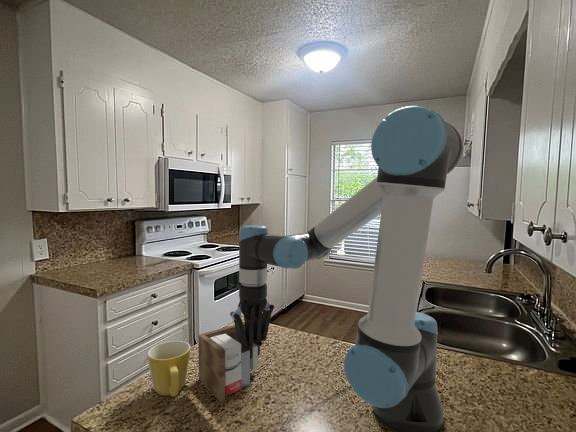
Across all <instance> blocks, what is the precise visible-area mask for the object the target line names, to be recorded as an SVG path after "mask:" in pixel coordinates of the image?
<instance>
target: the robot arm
mask: <svg viewBox="0 0 576 432" xmlns="http://www.w3.org/2000/svg"><path fill="white" fill-rule="evenodd" d="M370 146H371V147H370V151H371V156H372V158H373V160H374V162H375V164H376V165H377V167H378V169H377V176H376V177H375V178H374V179H372V180H371V181H370V182H369V183H367V184H366V185H365V186H364V187H363V188H360V189H359V191H357V192H356V193H355V194H354V195H352V196H351V197H350V198H348V199H347V200H346V201H344V203H342V204H341V205H340V206H338V207H337V208H336V209H335V210H333V211H331V212H330V213H329V214H328V215H327V216H326V217H325V218H323V219H322V220H321V221H319V222H318V223H317V224H316V225H315V226H313V227H312V228H310V229H309V230H308V231H306V232H304V233H296V234H288V235H276V234H275V235H272V234H269V232H268V227H267V226H266V225H258V224H256V225H255V224H253V225H249V224H248V225H243V226H241V227H240V229H239V236H238V250H239V251H238V253H239V254H238V257H239V259H238V270H239V271H238V272H239V273H238V275H239V277H238V280H239V281H238V282H239V284H238V298H239V303H238V304H237V308H236V310H234V311H230V313H229V315H230V317H231V319H232V320H233V323H234V324H233V325H235V328H236V332H237V337H238V341H239V343H240V344H241V345H243V346H244V347H246V348H247V349H249V350H250V371H253V372H255V371H257V370H258V369H259V368H258V367H259V366H258V365H259V364H258V361H259V356H260V355H261V346H263V344H264V343H263V341H266V340H267V337H268V334H269V333H268V332H269V327H270V321H271V317H272V313H273V311H274V309H275V305H274V304H272V303H270V302H268V300H267V296H268V283H267V282H268V265H269V266H274V267H279V268H283V269H292V270H293V269H294V270H296V269H301V267H302V266H303V265H304V264H305V263H306V262H309V261H314V260H319V259H322V258H325V257H327V256H328V255H330V253H331V251H332V249H333V248H334V247H335V246H337V245H338V244H340V243H341V242H343V241H344V240H346V239H347V238H349V236H351V235H353V234H354V233H356V232H357V231H358V230H360V229H361V228H362V227H364V226H366V225H367V224H368V223H370V222H371V221H373V220H374V219H375V218H378V216H379V215H380V220H379V225H378V227H379V229H378V234H377V242H376V248H375V249H376V250H375V258H374V265H373V272H372V279H371V287H370V295H369V303H368V310H367V314H365V315H364V316H363V317H361V318H359V320H358V324H357V331H356V340H355V345H353V346H351V347H350V348H349V349H348V351H347V353H346V355H345V357H344V361H343V369H344V374H345V378H346V380H347V382H348V384H349V385H350V386H351V387H352V390H353V391H354V393H355V394H356V395H358V397H359V398H360V399H362V400H363V401H364V402H366V404H367V403H368V404H370V405H371V406H372V409H373V412H374V413H375V415H376V417H378V418H379V420H380V421H382V422H383V423H384V424H385V425H387V426H388V427H390V428H392V429H394V430H397V431H399V432H438V431H439V430H440V429H441V428H442V427H443V423H444V408H443V405H442V402H441V399H440V395H439V392H438V389H437V388H438V387H437V385H436V380H437V379H436V374H437V350H438V349H437V347H438V335H439V332H438V323H437V320H435V318H434V317H432V316H430V315H428V314H426V313H423V312H419V311H417V310H418V306H419V305H418V303H419V299H420V298H419V297H420V290H421V283H422V277H423V270H424V263H425V258H426V257H425V256H426V251H427V243H428V237H429V231H430V226H431V225H430V223H431V218H432V211H433V203H434V199H435V198H436V197H437V196H439V195H440V194H441V193H443V192H444V191H445V188H446V182H447V177H448V176H447V175H448V174H450V173H451V172H452V171H453V170H454V169H455V168H456V167H457V166H458V164H459V162H460V160H461V158H462V156H463V151H464V150H463V148H464V147H463V140H462V136H461V134H460V133H459V131H458V130H457V129H456V127H455V126H453V125H452V124H451V123H449V122H448V121H445V120H444V118H443V117H442V116H441V115H440V114H439V113H438V112H437V111H435V110H433V109H428V108H427V107H424V106H419V105H410V106H409V105H408V106H403V107H401V108H398V109H395V110H394V111H391V112H390V113H389V114H388V115H387V116H386V117H384V118H383V119H382V120H381V121H380V122H379V124H378V125H377V127H376V129H375V130H374V133H373V135H372V139H371V144H370ZM242 318H243V320H244V322H245V331H244V326H243V320H242ZM253 342H254V343H253Z"/></svg>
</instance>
